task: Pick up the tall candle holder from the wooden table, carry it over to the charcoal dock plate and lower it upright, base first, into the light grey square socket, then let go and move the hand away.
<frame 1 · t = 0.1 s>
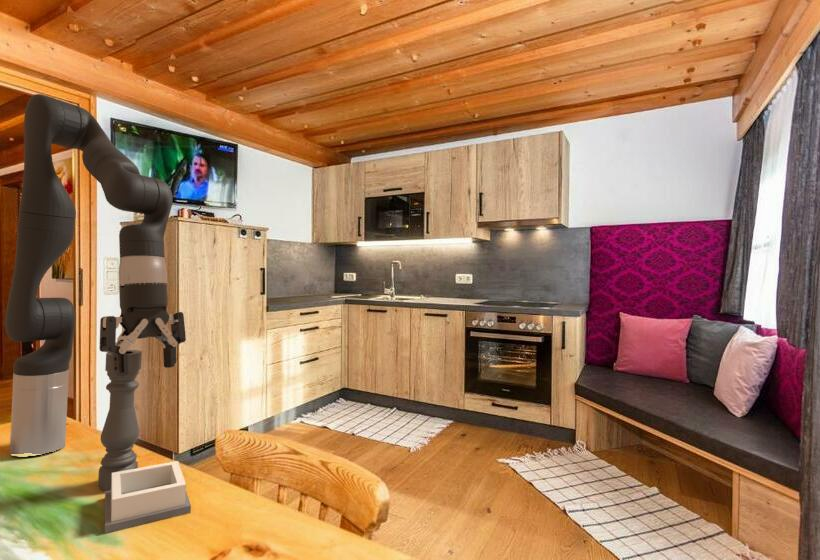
hand: (146, 371, 78), 23 cm above the table, tool pointing down, fingers open, 8 cm apart
candle holder: (117, 484, 82), on the table
socket dock: (146, 505, 75), on the table
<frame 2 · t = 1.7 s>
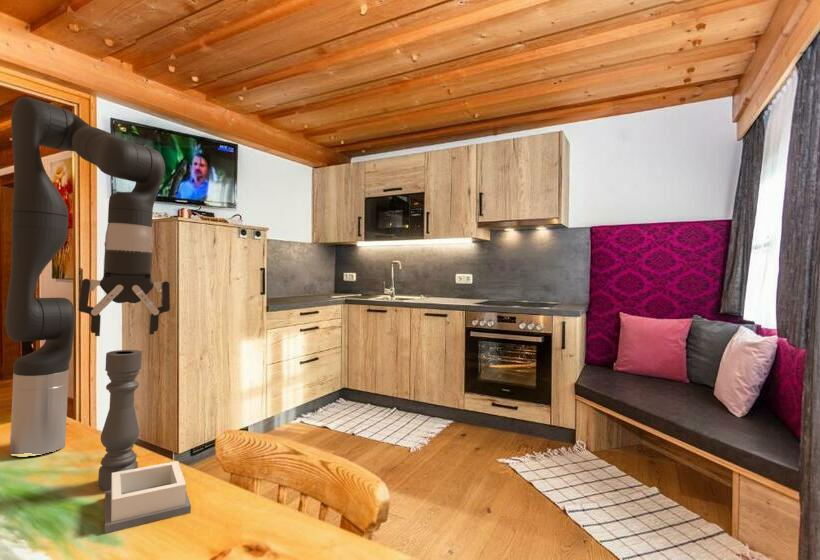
hand: (125, 334, 81), 28 cm above the table, tool pointing down, fingers open, 8 cm apart
nothing on the table moved.
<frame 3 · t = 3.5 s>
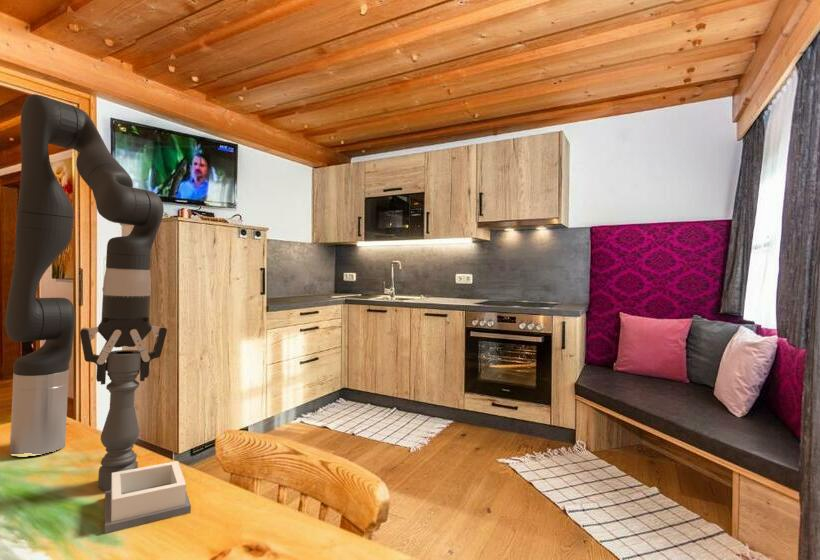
hand: (122, 381, 81), 19 cm above the table, tool pointing down, fingers closed on candle holder, 5 cm apart
candle holder: (117, 484, 82), on the table, touching gripper
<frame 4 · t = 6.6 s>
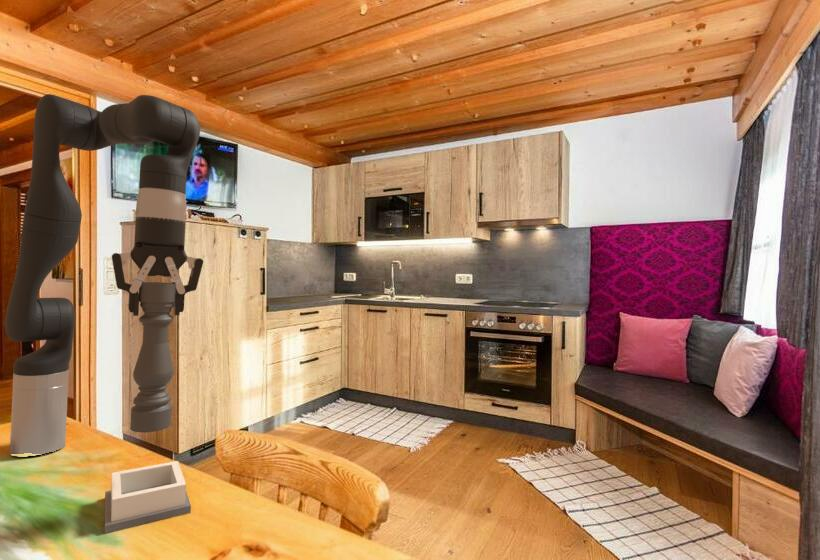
hand: (156, 314, 75), 33 cm above the table, tool pointing down, fingers closed on candle holder, 5 cm apart
candle holder: (151, 427, 75), point 14 cm above the table, touching gripper
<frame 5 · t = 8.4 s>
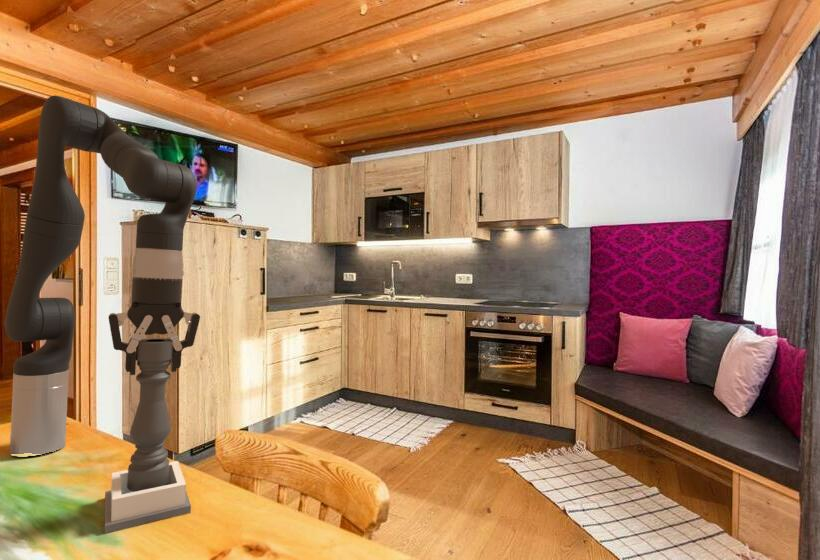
hand: (153, 372, 75), 23 cm above the table, tool pointing down, fingers closed on candle holder, 5 cm apart
candle holder: (148, 484, 75), point 4 cm above the table, touching gripper
when the fingers open (22 cm above the table, at t = 9.6 s): candle holder drops 1 cm, resting on socket dock.
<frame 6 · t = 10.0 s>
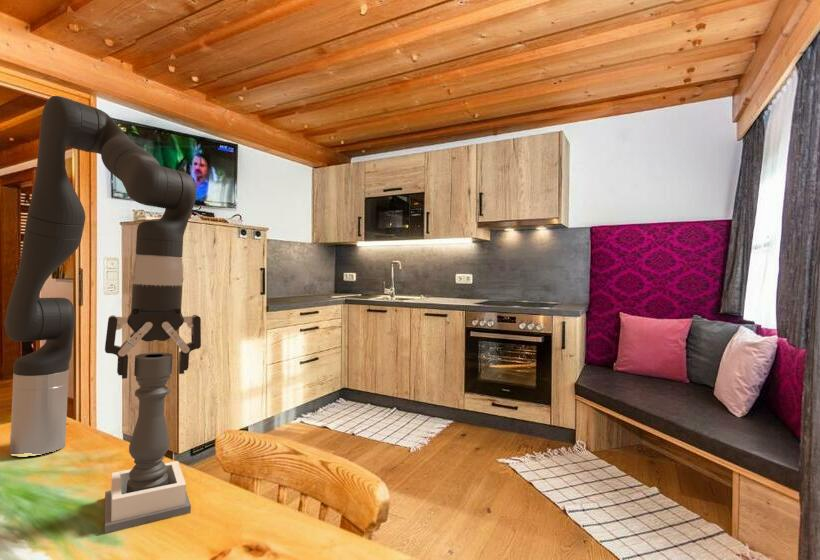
hand: (153, 375, 75), 23 cm above the table, tool pointing down, fingers open, 8 cm apart
candle holder: (147, 499, 75), point 1 cm above the table, touching socket dock
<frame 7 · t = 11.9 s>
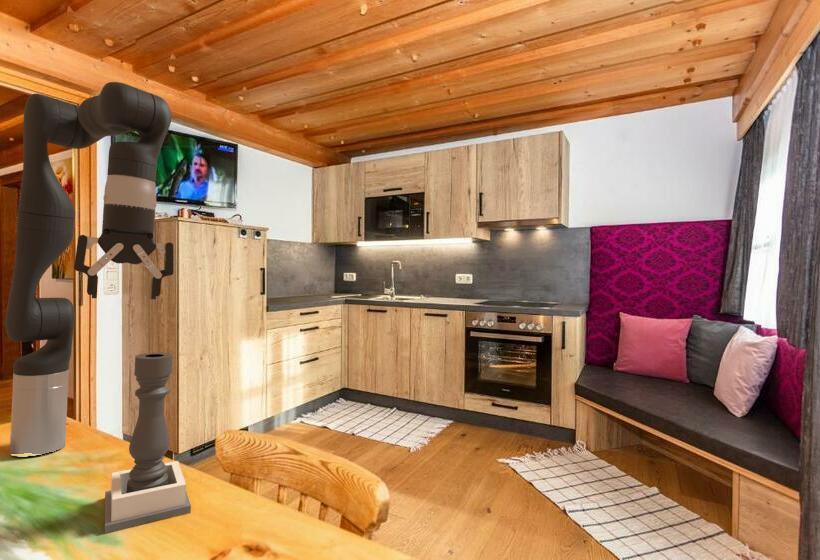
hand: (124, 298, 75), 36 cm above the table, tool pointing down, fingers open, 8 cm apart
nothing on the table moved.
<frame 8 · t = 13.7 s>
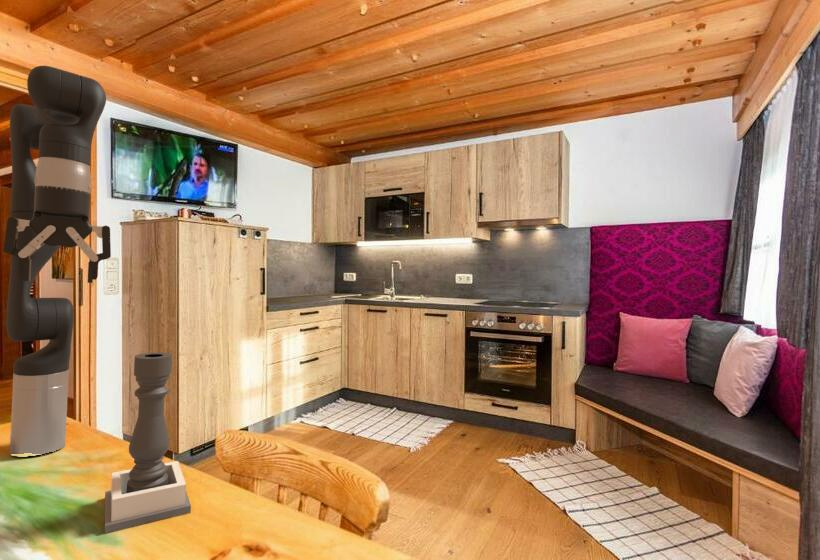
hand: (59, 281, 75), 38 cm above the table, tool pointing down, fingers open, 8 cm apart
nothing on the table moved.
at the end: candle holder 0.1 cm off-centre on the socket dock, point 1.0 cm above the socket dock's base; candle holder tilted 0°; the gripper is holding nothing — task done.
